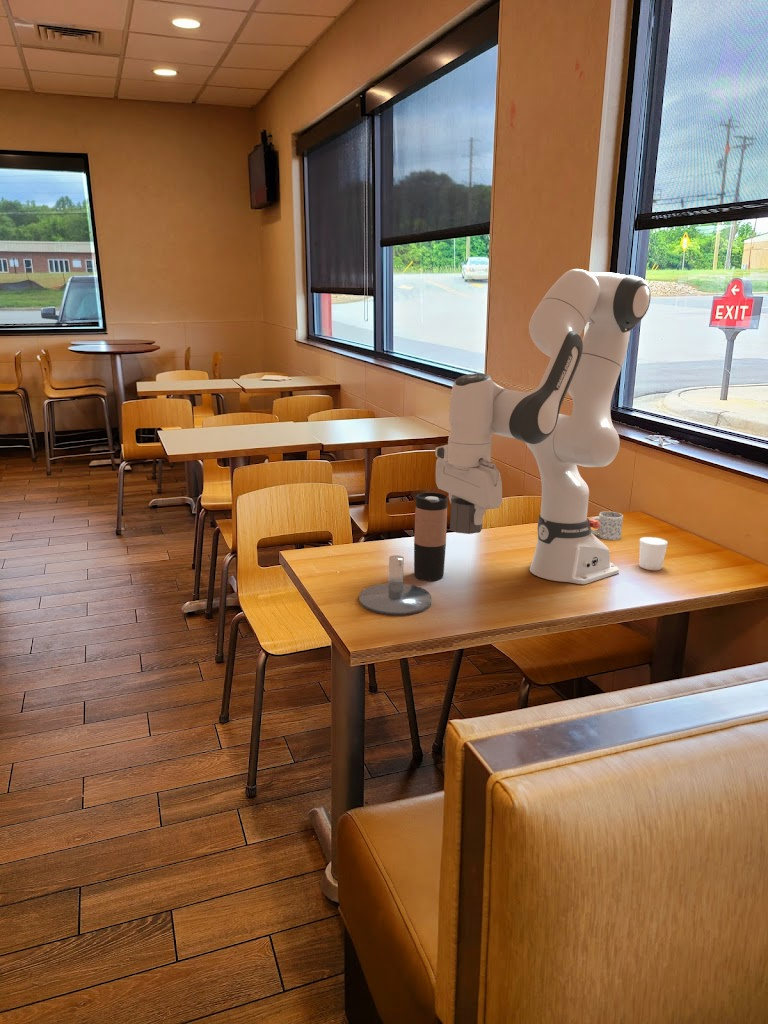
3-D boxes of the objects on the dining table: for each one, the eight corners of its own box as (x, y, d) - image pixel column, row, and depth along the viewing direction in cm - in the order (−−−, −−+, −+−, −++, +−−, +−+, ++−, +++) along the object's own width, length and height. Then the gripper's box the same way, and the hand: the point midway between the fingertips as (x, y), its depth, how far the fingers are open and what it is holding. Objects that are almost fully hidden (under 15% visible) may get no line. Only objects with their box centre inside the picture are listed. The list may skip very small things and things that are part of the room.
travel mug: (425, 568, 189) (428, 490, 184) (450, 575, 185) (454, 496, 179) (406, 576, 184) (409, 496, 178) (432, 583, 179) (435, 502, 174)
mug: (615, 533, 222) (618, 511, 221) (624, 540, 216) (626, 517, 214) (582, 533, 222) (584, 511, 220) (590, 540, 215) (592, 517, 214)
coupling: (470, 523, 164) (471, 496, 162) (487, 531, 158) (488, 503, 157) (445, 526, 161) (446, 499, 159) (461, 535, 156) (462, 507, 154)
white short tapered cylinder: (655, 572, 190) (658, 546, 188) (631, 565, 195) (634, 539, 193) (669, 567, 194) (673, 541, 192) (646, 560, 199) (649, 534, 197)
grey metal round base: (409, 584, 179) (410, 542, 176) (444, 608, 165) (446, 564, 162) (347, 594, 172) (348, 551, 169) (379, 620, 158) (380, 574, 155)
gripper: (511, 463, 148) (507, 530, 152) (456, 445, 165) (453, 505, 169) (485, 465, 145) (481, 534, 149) (431, 447, 163) (429, 509, 166)
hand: (466, 519), depth 159 cm, fingers closed on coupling, 6 cm apart
